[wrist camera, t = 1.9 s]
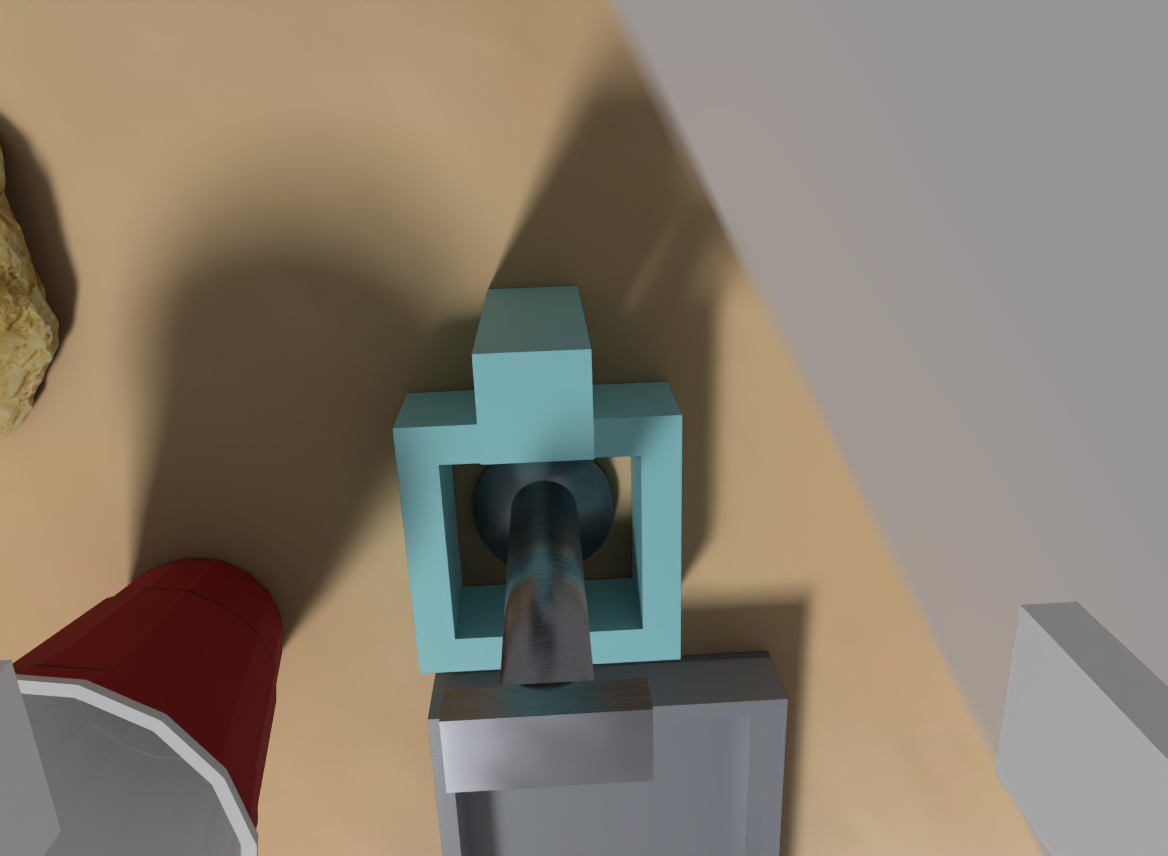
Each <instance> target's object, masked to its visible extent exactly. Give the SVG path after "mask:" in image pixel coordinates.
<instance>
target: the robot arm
mask: <svg viewBox="0 0 1168 856" xmlns="http://www.w3.org/2000/svg"><path fill="white" fill-rule="evenodd" d="M995 774H996V775H997V777H998V778H999V780H1000V781H1001V783H1002V784H1003V786H1004V787H1005V789H1006V790H1007V792H1008V793H1009V794H1010V796H1011V797H1012V799H1013V800H1014V802H1015V803H1016V805H1017V806H1018V808H1019V809H1020V811H1021V812H1022V814H1023V815H1024V817H1025V818H1026V820H1027V821H1028V822H1029V824H1030V825H1031V827H1032V828H1033V830H1034V831H1035V833H1036V834H1037V836H1038V837H1039V839H1040V840H1041V842H1042V843H1043V845H1044V846H1045V848H1046V849H1047V850H1048V852H1049V853H1050V855H1051V856H1168V686H1166V685H1165V684H1164V683H1163V682H1162V681H1161V680H1160V679H1159V678H1158V677H1157V676H1156V675H1155V674H1153V672H1152V671H1150V670H1149V669H1148V668H1147V667H1146V666H1145V665H1144V664H1143V663H1142V662H1141V661H1140V660H1139V659H1138V658H1136V657H1135V656H1134V655H1133V654H1132V653H1131V652H1130V651H1129V650H1128V649H1127V648H1126V647H1125V646H1124V645H1123V644H1122V643H1120V642H1119V641H1118V640H1117V639H1116V638H1115V637H1114V636H1113V635H1112V634H1111V633H1110V632H1109V631H1108V630H1107V629H1105V628H1104V627H1103V626H1102V625H1101V624H1100V623H1099V622H1098V621H1097V620H1096V619H1095V618H1094V617H1093V616H1092V615H1090V614H1089V613H1088V612H1087V611H1086V610H1085V609H1084V608H1083V607H1082V606H1081V605H1080V604H1079V603H1078V602H1067V603H1049V604H1029V605H1020V612H1019V618H1018V625H1017V631H1016V638H1015V645H1014V651H1013V657H1012V664H1011V670H1010V677H1009V683H1008V690H1007V697H1006V703H1005V710H1004V716H1003V723H1002V729H1001V736H1000V743H999V749H998V755H997V762H996V768H995ZM60 831H61V829H60V825H59V822H58V818H57V815H56V811H55V808H54V805H53V801H52V798H51V794H50V791H49V787H48V784H47V781H46V777H45V774H44V770H43V767H42V763H41V760H40V757H39V753H38V750H37V746H36V743H35V739H34V736H33V733H32V729H31V726H30V722H29V719H28V715H27V712H26V709H25V705H24V702H23V698H22V695H21V691H20V688H19V685H18V681H17V678H16V674H15V671H14V668H13V664H12V661H11V660H4V661H0V856H44V855H45V854H46V852H47V851H48V849H49V848H50V846H51V845H52V843H53V841H54V840H55V838H56V837H57V835H58V834H59V832H60Z"/></svg>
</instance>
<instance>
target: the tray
mask: <svg viewBox="0 0 1168 856" xmlns="http://www.w3.org/2000/svg"><path fill="white" fill-rule="evenodd" d="M593 672H594V680H607V679H625V678H643V677H647V680H648V685H649V690H650V696H651V701H652V706H653V780H654V781H640V782H623V783H607V784H590V785H573V786H557V787H540V788H523V789H507V790H490V791H473V792H457V793H446V783H445V774H444V764H443V755H442V745H441V736H440V726H439V719H440V712H441V706H442V699H443V693H444V689H447V688H465V687H483V686H500V673H501V669H496V670H478V671H460V672H442V673H436V675H435V681H434V686H433V692H432V698H431V704H430V709H429V715H428V726H429V735H430V745H431V754H432V763H433V772H434V781H435V790H436V799H437V808H438V817H439V826H440V835H441V844H442V853H443V856H779V848H780V831H781V813H782V795H783V777H784V760H785V742H786V724H787V706H788V698H787V696H786V693H785V691H784V688H783V686H782V683H781V681H780V679H779V676H778V674H777V671H776V669H775V667H774V664H773V662H772V659H771V657H770V654H769V652H768V651H763V652H745V653H727V654H709V655H691V656H681V659H676V660H658V661H640V662H622V663H604V664H593Z"/></svg>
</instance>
